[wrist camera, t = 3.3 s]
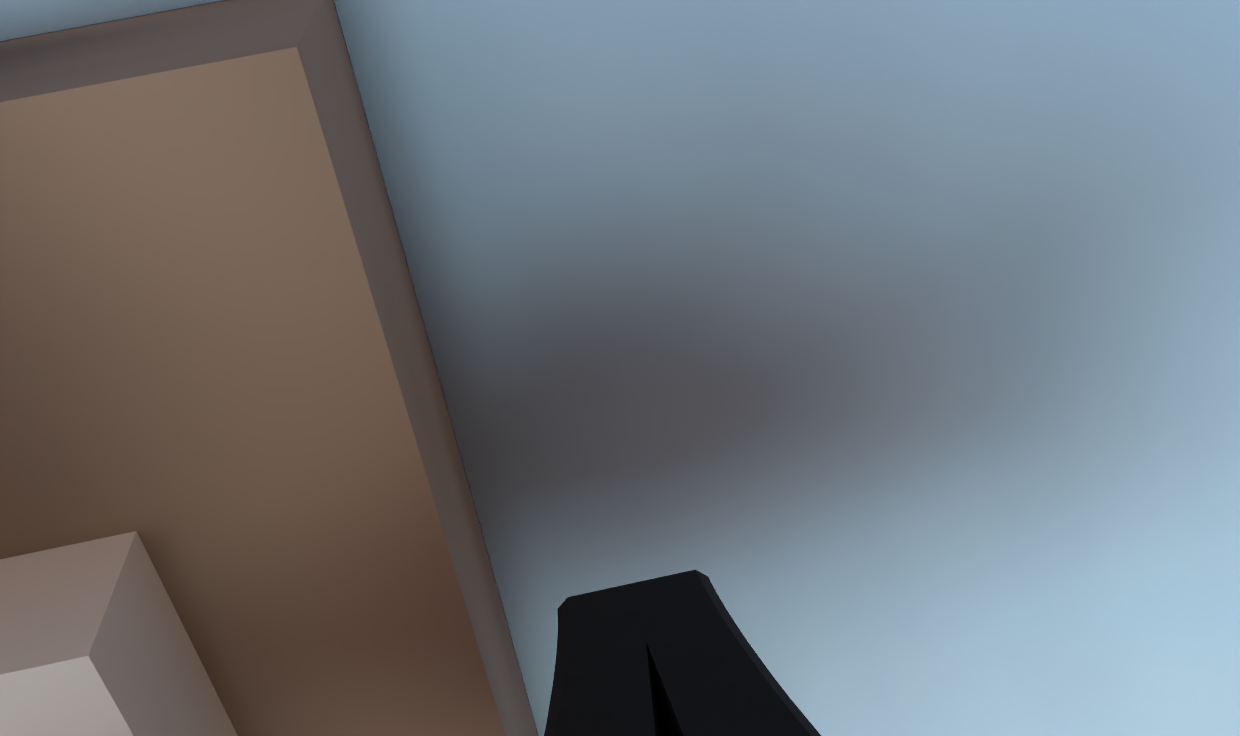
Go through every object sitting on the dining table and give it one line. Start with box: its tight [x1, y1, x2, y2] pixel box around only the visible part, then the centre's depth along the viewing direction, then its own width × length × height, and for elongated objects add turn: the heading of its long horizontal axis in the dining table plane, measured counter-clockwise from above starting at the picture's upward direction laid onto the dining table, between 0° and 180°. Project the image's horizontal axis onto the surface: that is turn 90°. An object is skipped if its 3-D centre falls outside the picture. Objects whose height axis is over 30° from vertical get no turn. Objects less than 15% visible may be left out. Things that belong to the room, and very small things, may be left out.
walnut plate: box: [0, 0, 538, 736], centre depth 11 cm, size 9×12×2 cm
